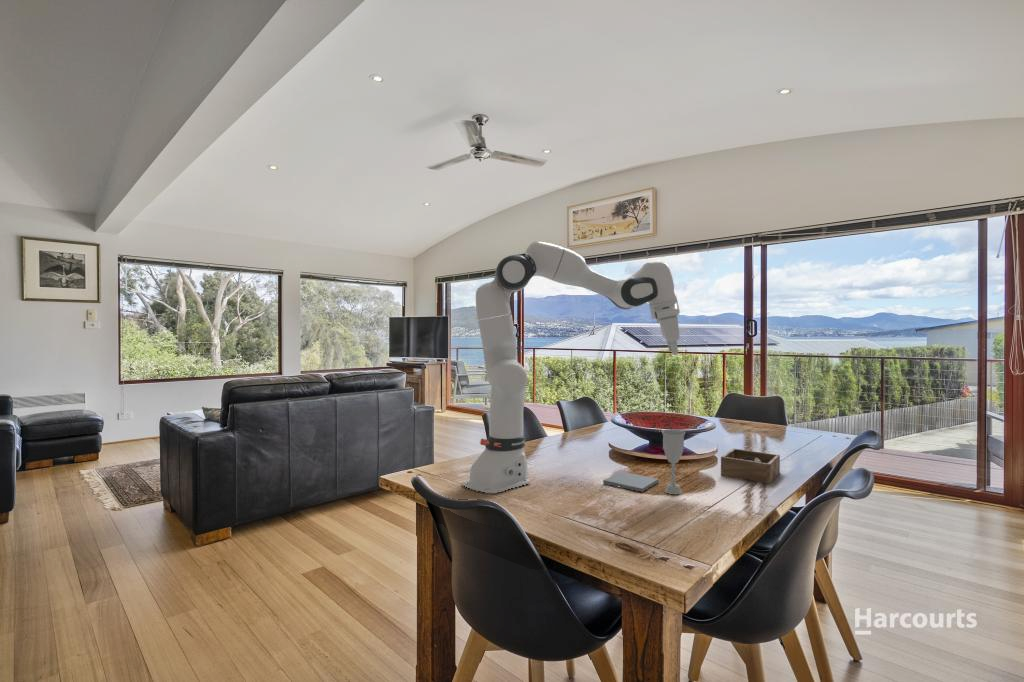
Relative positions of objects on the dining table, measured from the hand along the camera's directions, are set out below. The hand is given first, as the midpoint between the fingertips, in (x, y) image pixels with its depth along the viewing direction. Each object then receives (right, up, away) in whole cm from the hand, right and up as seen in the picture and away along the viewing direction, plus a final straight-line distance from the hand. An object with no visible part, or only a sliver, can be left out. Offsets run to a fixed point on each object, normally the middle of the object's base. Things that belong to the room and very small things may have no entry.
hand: (673, 352), depth 158 cm
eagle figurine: (+27, -41, +3) cm, 49 cm away
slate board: (-15, -41, -5) cm, 44 cm away
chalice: (-5, -41, -14) cm, 44 cm away
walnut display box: (+27, -41, +4) cm, 49 cm away
